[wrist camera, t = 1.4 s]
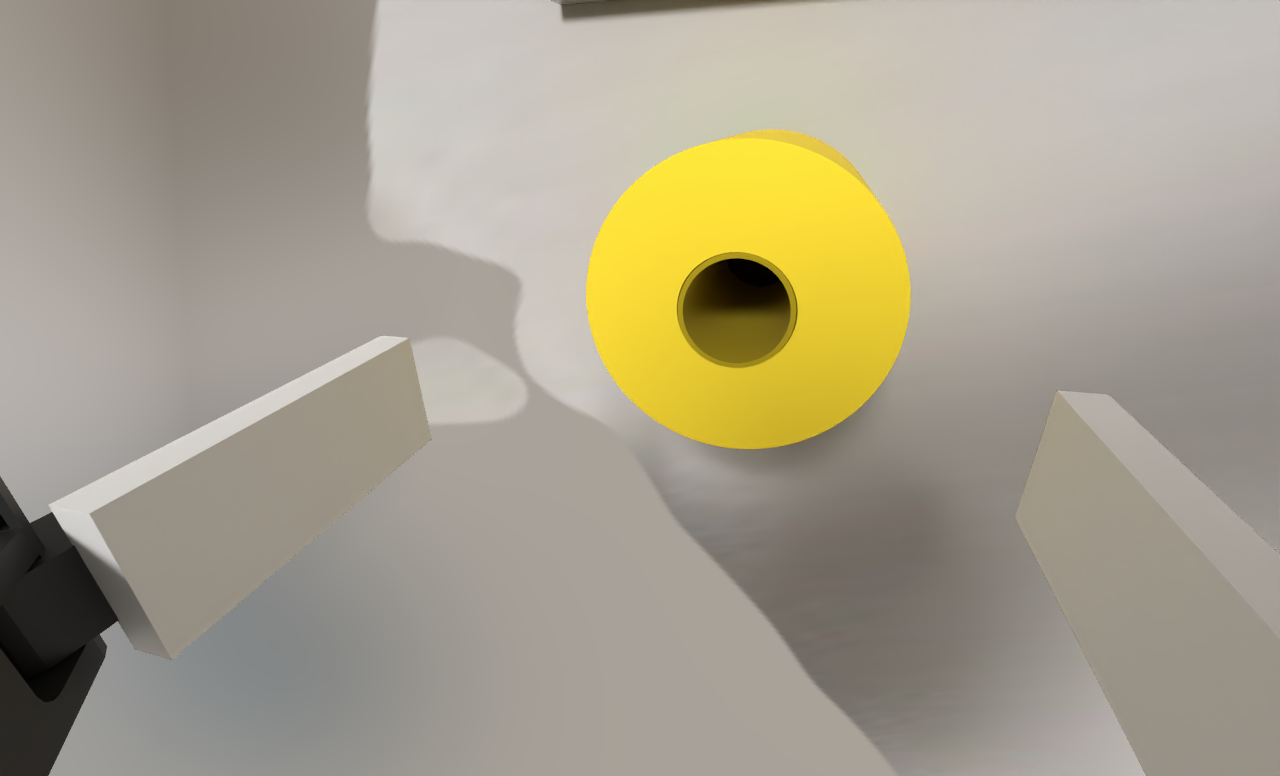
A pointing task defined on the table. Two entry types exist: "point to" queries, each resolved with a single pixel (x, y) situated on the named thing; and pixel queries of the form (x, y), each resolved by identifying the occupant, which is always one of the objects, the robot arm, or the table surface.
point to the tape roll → (749, 291)
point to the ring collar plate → (574, 1)
